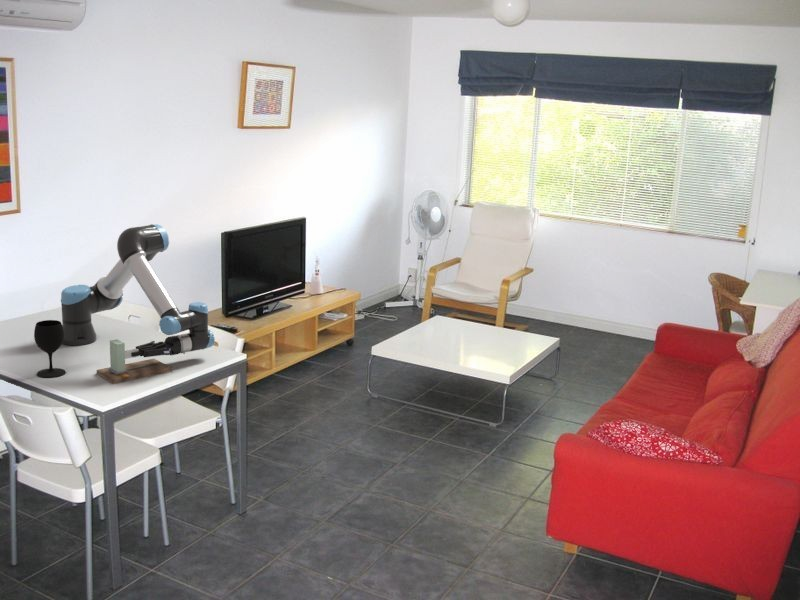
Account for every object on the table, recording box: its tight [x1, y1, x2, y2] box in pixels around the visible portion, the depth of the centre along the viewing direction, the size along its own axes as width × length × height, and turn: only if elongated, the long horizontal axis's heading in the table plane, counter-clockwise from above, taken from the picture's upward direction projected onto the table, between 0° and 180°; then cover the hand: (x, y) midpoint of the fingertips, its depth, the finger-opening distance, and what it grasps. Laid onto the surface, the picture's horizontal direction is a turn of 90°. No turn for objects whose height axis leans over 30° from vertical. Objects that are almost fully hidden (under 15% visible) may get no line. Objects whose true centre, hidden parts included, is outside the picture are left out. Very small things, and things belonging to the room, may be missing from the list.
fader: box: [107, 339, 129, 375], centre depth 317 cm, size 5×7×12 cm
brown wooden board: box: [96, 358, 173, 385], centre depth 323 cm, size 24×14×2 cm, turn 134°
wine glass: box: [33, 319, 67, 379], centre depth 315 cm, size 10×10×20 cm
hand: (122, 355), depth 318 cm, fingers closed
